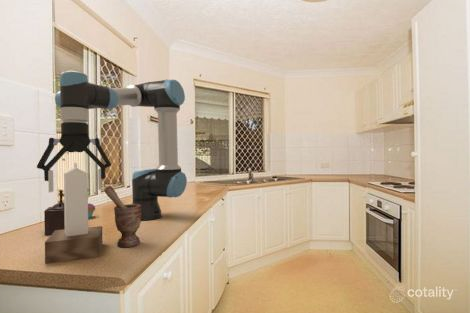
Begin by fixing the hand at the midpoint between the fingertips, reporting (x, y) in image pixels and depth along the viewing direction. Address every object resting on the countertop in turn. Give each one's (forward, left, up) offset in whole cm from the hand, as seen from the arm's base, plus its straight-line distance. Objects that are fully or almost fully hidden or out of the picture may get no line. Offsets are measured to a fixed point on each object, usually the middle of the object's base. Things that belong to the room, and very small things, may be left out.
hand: (76, 190), depth 92 cm
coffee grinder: (+7, -32, -20) cm, 38 cm away
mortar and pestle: (-14, -2, -20) cm, 24 cm away
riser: (0, 0, -19) cm, 19 cm away
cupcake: (+3, -55, -20) cm, 58 cm away
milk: (0, 0, -14) cm, 14 cm away
